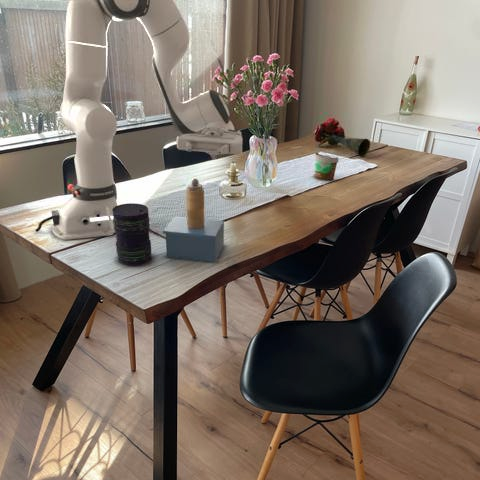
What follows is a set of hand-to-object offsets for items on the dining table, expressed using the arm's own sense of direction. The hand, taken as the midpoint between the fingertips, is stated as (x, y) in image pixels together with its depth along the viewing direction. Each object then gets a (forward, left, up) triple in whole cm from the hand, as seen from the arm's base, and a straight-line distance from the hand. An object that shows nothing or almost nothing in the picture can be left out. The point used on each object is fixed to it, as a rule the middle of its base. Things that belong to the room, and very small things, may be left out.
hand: (204, 149), depth 142 cm
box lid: (-8, -9, -20) cm, 23 cm away
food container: (+76, +36, -27) cm, 88 cm away
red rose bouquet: (+121, +75, -27) cm, 145 cm away
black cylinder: (-26, -6, -27) cm, 38 cm away
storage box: (-8, -9, -27) cm, 30 cm away
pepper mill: (-8, -9, -19) cm, 22 cm away
